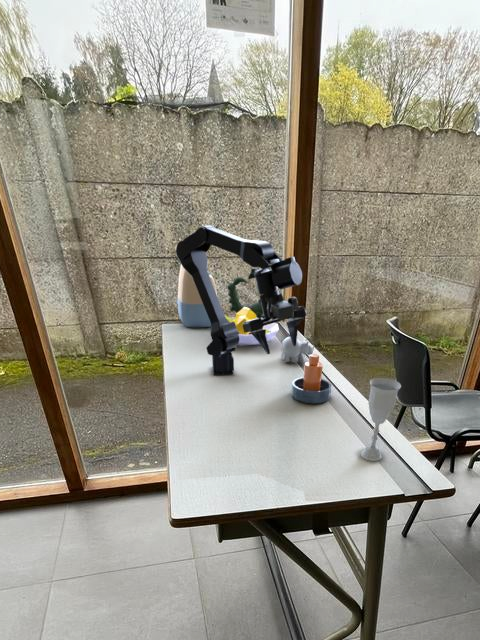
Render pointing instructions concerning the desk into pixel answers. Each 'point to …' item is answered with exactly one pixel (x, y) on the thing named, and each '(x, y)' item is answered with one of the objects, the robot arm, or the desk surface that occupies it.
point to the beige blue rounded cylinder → (191, 302)
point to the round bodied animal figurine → (294, 349)
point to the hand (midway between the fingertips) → (281, 349)
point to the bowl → (311, 392)
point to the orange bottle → (312, 374)
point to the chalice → (380, 410)
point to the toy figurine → (234, 299)
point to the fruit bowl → (245, 338)
